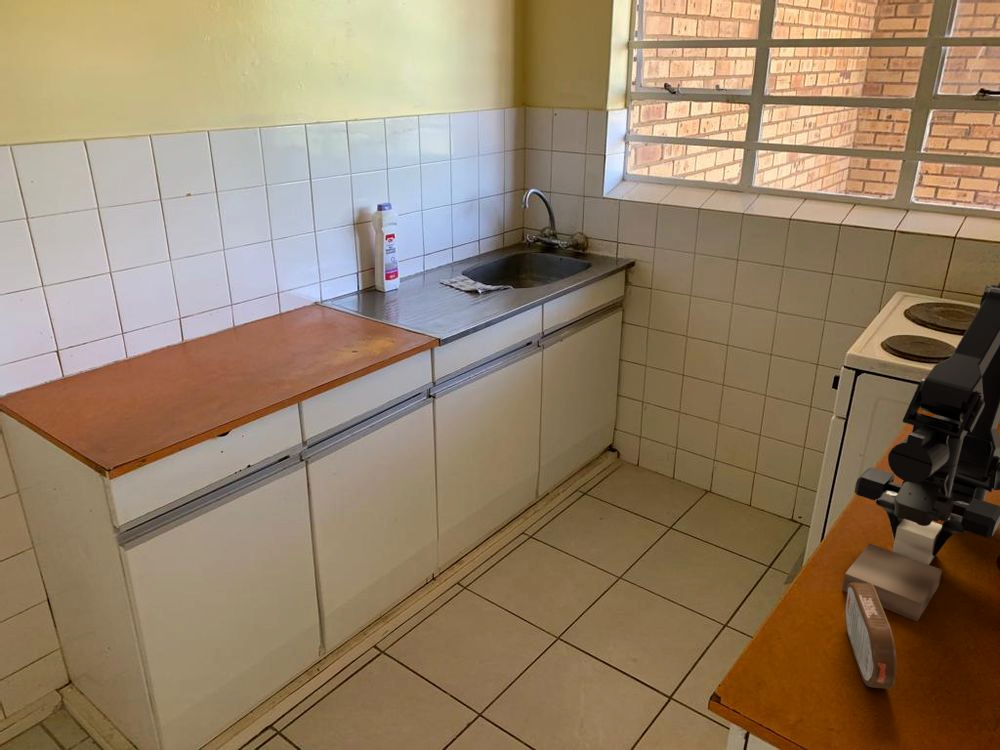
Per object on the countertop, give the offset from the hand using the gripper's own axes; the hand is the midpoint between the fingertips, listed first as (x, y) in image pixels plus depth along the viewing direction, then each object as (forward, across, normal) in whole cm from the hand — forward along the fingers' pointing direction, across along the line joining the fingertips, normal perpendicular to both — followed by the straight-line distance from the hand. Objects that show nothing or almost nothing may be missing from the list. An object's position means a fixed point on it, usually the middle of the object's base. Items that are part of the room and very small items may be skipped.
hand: (915, 548), depth 116 cm
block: (+1, 0, 0) cm, 1 cm away
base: (+1, 0, -11) cm, 11 cm away
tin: (+2, +2, -28) cm, 28 cm away
